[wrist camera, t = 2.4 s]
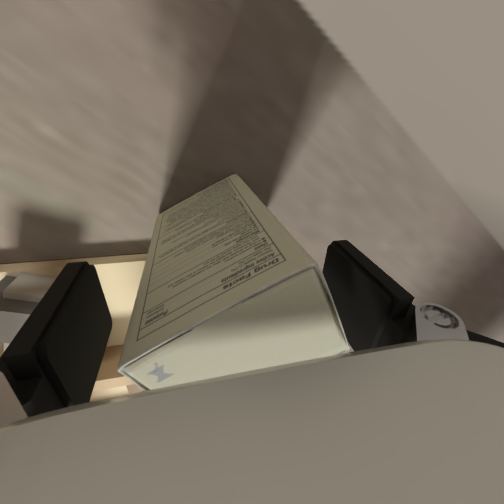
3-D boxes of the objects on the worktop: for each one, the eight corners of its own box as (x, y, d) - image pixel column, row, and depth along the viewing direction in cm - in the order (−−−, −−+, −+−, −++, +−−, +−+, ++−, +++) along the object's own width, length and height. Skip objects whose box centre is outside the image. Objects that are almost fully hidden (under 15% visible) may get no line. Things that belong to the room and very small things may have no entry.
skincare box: (190, 260, 19) (195, 437, 9) (154, 212, 17) (104, 374, 7) (264, 221, 19) (356, 356, 9) (238, 166, 17) (320, 262, 6)
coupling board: (157, 252, 18) (151, 285, 15) (188, 435, 31) (188, 477, 27) (-85, 270, 16) (-161, 316, 12) (55, 465, 28) (36, 515, 24)
